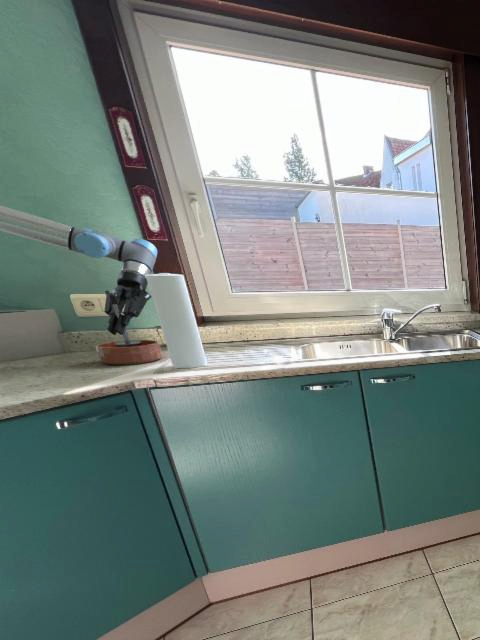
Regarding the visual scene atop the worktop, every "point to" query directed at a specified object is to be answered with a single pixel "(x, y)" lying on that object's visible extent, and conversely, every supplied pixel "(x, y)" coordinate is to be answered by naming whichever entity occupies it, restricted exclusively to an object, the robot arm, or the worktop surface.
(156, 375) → the worktop surface
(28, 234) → the robot arm
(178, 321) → the cylinder container
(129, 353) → the bowl
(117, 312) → the potato masher
